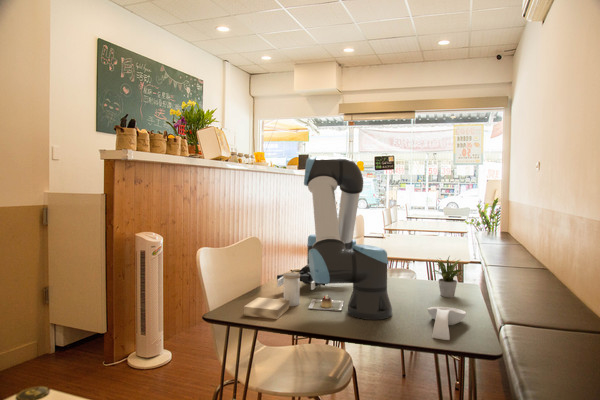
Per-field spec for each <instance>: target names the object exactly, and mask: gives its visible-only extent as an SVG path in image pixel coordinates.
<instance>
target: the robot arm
mask: <svg viewBox="0 0 600 400" xmlns="http://www.w3.org/2000/svg"><path fill="white" fill-rule="evenodd" d="M305 161H306V162H305V168H304V169H305V170H304V178H303V179H304V180H303V186H306V187H307V188H308V191H309V192H310V193H311V194H312V204H313V206H312V209H313V219H314V231H315V234H310V235H308V237H307V244H306V245H307V246H306V247H307V254H306V255H307V256H306V257H307V259H306V261H307V262H306V263H307V264H306V265H305V266H303V267H302V268H301V269H299V272H298V273H299V274H300V282H302V283H304V284H306V285H310V290H311V291H313V290H315V288H317V287H319V286H320V287H321V286H323V287H326V285H329V284H352V291H351V295H350V297H349V300H348V304H347V313H348V314H349V315H350V316H352V317H355V318H358V319H362V320H372V321H373V320H375V321H376V320H378V321H379V320H385V319H388V318H390V317H392V316H393V306H392V304H391V300H390V298H389V297H390V296H389V293H388V264H389V260H388V252H387V251H386V249H384V248H382V247H378V246H374V245H369V244H358V243H357V241H356V239H354V233H355V232H354V231H355V225H356V220H357V213H358V206H359V200H360V194H361V193H362V192H363V189H364V176H363V173H362V171H361V169H360V167H359V166H358V165H357V163H356V162H355V161H354V160H352V159H351V158H348V157H345V156H318V155H317V156H310V157H308V158H306V160H305ZM338 187H339V190H340V200H339V209H338V212H337V203H336V195H335V194H336V193H335V191H336V190H337V188H338ZM289 273H295V272H294V271H291V272H290V271H289ZM283 274H284V273H282V274H278V275H276V284H277V285H276V287H277V288H280V287H281V286H284V278H283Z"/></svg>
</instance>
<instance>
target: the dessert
mask: <svg viewBox="0 0 600 400" xmlns="http://www.w3.org/2000/svg"><path fill="white" fill-rule="evenodd" d="M316 302H320V307H322V308H320V307H319V308H317V307H314V305H315V303H316ZM344 302H345V301H344V300H337V299H332V298H331V297H329V295H328V294H326V295H324V296H323V297H322V298H321V299H320V298H312V300H311V302H310V304H309V305H308V307H307V308H308V309H310V310H321V311H334V312H335V311H337V312H341V311H342V310H343V306H344ZM333 303H337V304H339V306H338V309H334V308H332V307H333V306H334V304H333Z"/></svg>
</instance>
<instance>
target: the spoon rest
mask: <svg viewBox="0 0 600 400" xmlns="http://www.w3.org/2000/svg"><path fill="white" fill-rule="evenodd" d="M427 312H428V314H429V316H431V318H433V320H434V325H433V330H432V333H431V334H432V335H431V337H432V338H433V339H436V340H437V339H438V340H443V341H450V340H451V339H450V337H451V336H450V328H449V326H454V325H456V324H458V323H461V322H462V321H463V320H464V319H465V317H466V316H467V312H466V311H465V310H462V309H459V308H455V307H446V306H431V307H427Z"/></svg>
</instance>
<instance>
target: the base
mask: <svg viewBox="0 0 600 400" xmlns="http://www.w3.org/2000/svg"><path fill="white" fill-rule="evenodd" d="M289 309H290V306H289V300H283V299H278V298H269V297H256V298H255V299H253V300H252V301H250V302H248V303H247V304H246V305H244V306H243V316H244V317H245V316H247V317H255V318H256V317H257V318H264V319H272V320H273V319H274V320H278V319H279V318H280V317H282V315H284V314H285V313H286V312H287V311H288V310H289Z"/></svg>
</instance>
